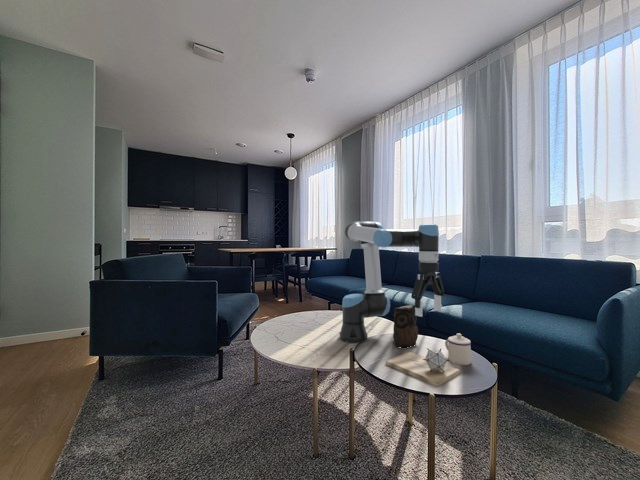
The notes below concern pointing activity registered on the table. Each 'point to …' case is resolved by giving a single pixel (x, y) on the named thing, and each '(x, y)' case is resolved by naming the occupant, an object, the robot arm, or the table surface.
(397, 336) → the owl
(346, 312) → the robot arm
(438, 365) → the game die
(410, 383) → the table surface
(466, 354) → the teacup with lid
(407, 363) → the board
